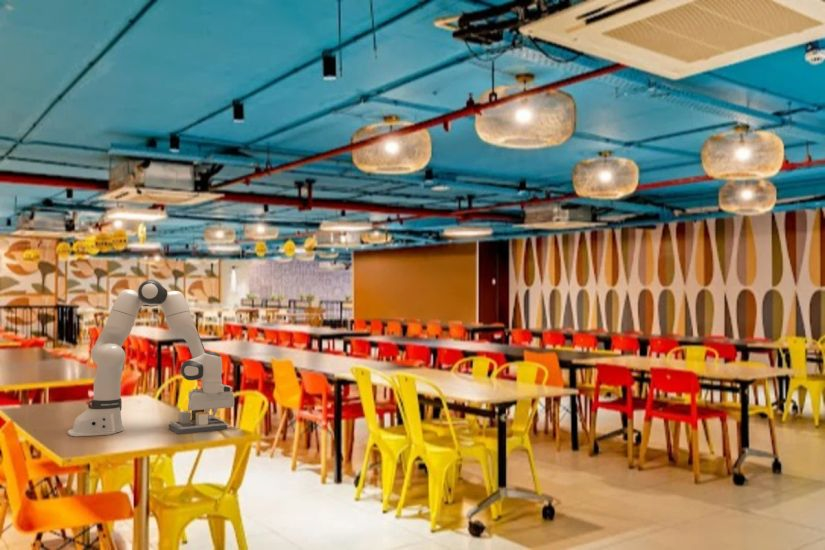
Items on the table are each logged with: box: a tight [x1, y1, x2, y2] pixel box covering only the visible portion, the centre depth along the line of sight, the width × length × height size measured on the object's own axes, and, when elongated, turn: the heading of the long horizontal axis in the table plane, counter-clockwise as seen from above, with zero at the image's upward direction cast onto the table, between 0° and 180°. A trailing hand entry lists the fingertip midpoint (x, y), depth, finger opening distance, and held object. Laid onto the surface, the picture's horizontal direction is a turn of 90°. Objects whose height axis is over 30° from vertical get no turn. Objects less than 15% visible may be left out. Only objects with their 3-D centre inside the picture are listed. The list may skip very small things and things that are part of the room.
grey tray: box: [168, 416, 228, 435], centre depth 332 cm, size 22×15×3 cm
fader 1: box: [178, 410, 192, 424], centre depth 333 cm, size 4×5×5 cm
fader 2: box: [196, 412, 208, 426], centre depth 330 cm, size 4×5×5 cm
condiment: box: [191, 410, 205, 420], centre depth 351 cm, size 7×8×12 cm
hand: (211, 418), depth 332 cm, fingers closed
